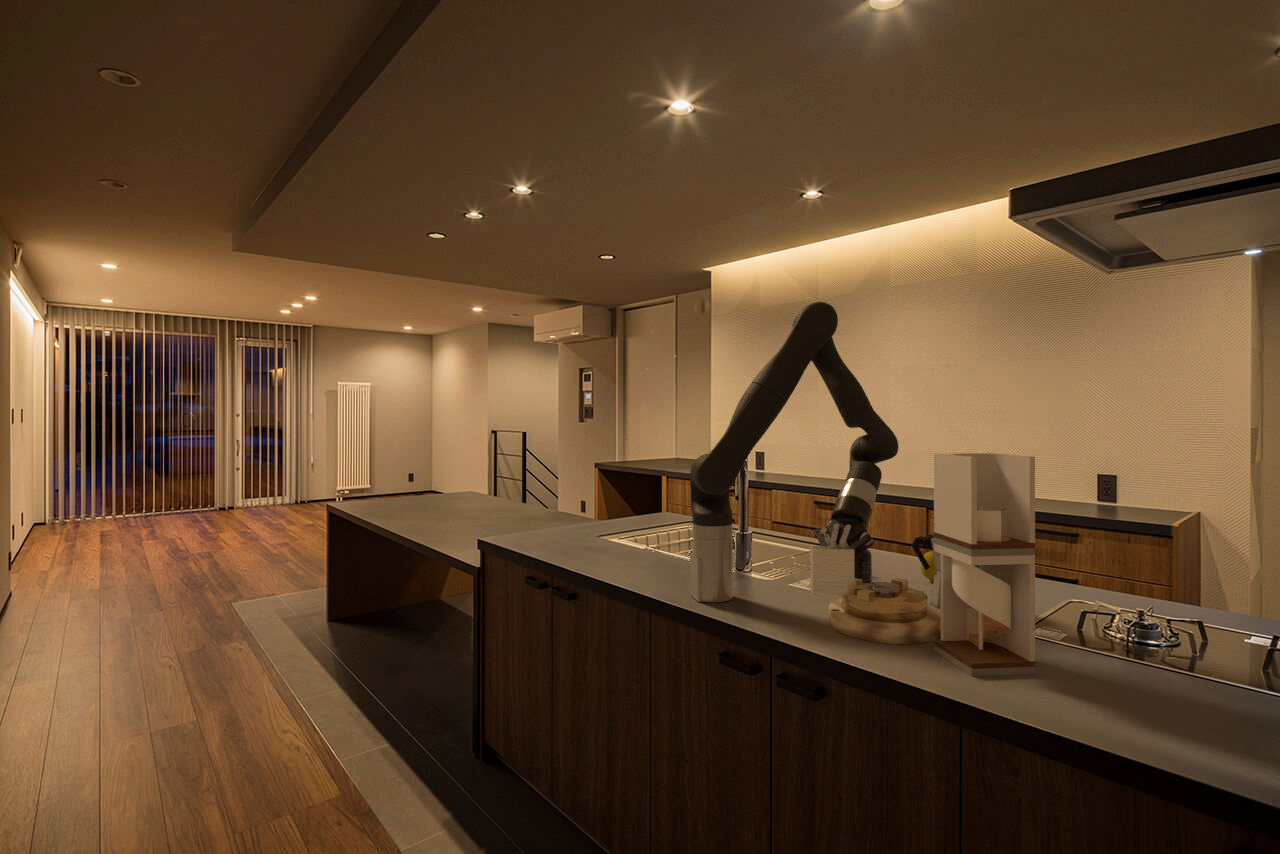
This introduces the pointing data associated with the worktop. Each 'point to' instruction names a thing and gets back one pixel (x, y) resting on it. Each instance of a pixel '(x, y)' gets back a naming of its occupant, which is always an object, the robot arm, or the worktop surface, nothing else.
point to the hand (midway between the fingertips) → (831, 572)
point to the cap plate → (885, 627)
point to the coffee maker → (929, 544)
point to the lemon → (930, 571)
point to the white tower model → (986, 561)
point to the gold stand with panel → (863, 588)
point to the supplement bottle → (863, 567)
